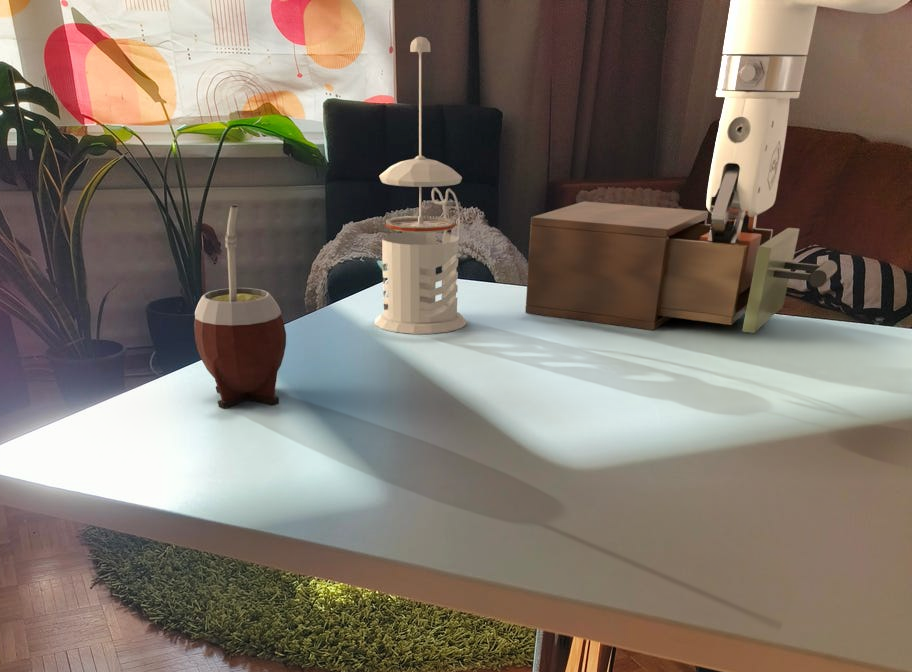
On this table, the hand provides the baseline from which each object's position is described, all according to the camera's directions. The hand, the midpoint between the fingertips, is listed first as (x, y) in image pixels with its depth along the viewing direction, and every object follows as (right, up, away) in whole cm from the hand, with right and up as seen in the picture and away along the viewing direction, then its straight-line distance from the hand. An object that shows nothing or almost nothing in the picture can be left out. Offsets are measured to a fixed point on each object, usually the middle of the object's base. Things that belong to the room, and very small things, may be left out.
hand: (723, 282), depth 93 cm
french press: (-31, -4, +2) cm, 32 cm away
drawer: (+1, -3, +1) cm, 3 cm away
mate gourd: (-45, -18, -21) cm, 53 cm away
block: (0, 0, 0) cm, 0 cm away
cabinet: (-10, 0, +7) cm, 13 cm away
